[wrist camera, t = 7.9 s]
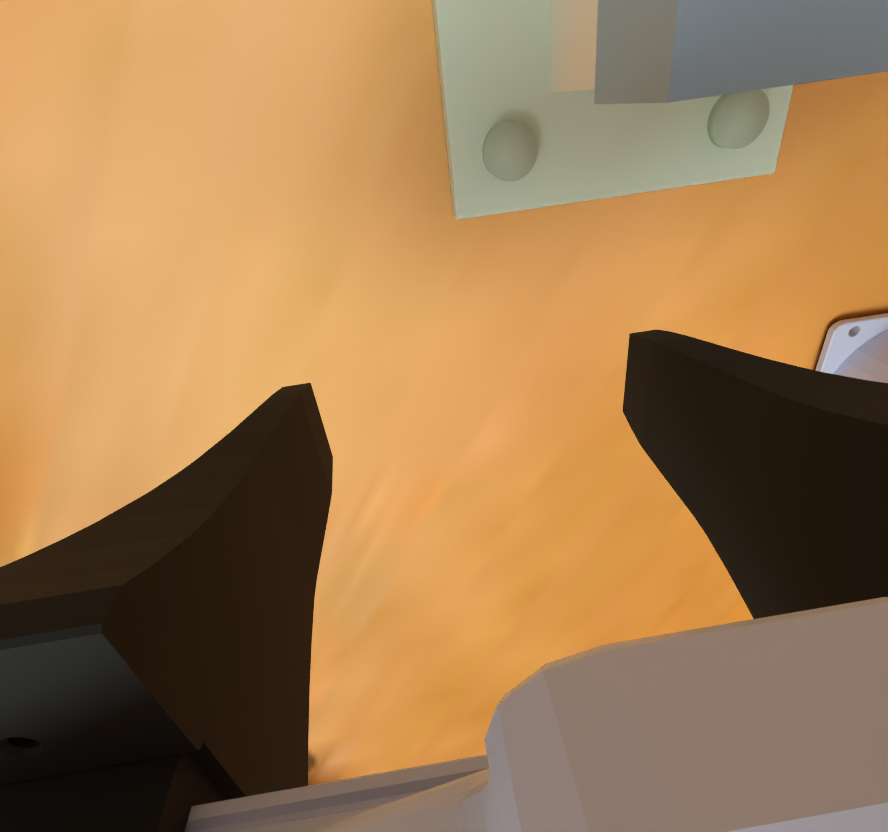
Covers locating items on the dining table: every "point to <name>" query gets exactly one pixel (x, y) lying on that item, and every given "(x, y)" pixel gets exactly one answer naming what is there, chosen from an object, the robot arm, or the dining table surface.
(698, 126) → the baseplate
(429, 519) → the dining table surface
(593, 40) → the cream block
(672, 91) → the blue block
